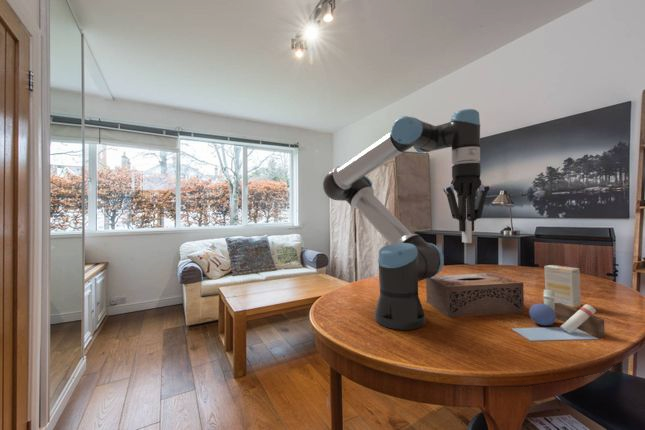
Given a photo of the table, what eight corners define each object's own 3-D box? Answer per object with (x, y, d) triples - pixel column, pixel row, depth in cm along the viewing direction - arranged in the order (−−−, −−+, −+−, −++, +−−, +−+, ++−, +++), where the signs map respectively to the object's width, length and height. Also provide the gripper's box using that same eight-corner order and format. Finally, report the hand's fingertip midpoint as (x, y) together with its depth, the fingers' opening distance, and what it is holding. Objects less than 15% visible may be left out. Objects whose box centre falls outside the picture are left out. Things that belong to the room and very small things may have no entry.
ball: (566, 318, 74) (554, 315, 72) (548, 331, 77) (536, 328, 74) (547, 300, 79) (535, 297, 77) (531, 313, 82) (520, 310, 79)
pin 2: (566, 328, 70) (591, 305, 70) (558, 324, 72) (582, 302, 72) (572, 335, 70) (598, 313, 70) (564, 331, 72) (589, 309, 72)
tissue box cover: (492, 299, 101) (491, 272, 101) (524, 313, 86) (523, 282, 86) (426, 303, 99) (425, 276, 99) (448, 318, 84) (447, 286, 84)
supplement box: (582, 307, 89) (580, 268, 89) (573, 309, 87) (572, 269, 87) (553, 300, 97) (552, 264, 97) (544, 302, 95) (543, 265, 95)
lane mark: (530, 341, 68) (530, 340, 68) (511, 329, 75) (511, 328, 75) (598, 339, 68) (598, 338, 67) (572, 327, 74) (572, 326, 74)
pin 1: (548, 322, 77) (548, 291, 78) (541, 319, 80) (541, 289, 80) (557, 323, 77) (556, 291, 78) (550, 320, 80) (549, 289, 80)
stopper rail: (598, 337, 68) (598, 319, 68) (555, 317, 81) (554, 302, 81) (604, 337, 68) (604, 319, 68) (559, 317, 81) (559, 302, 81)
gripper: (450, 162, 76) (451, 244, 76) (495, 161, 76) (496, 243, 76) (438, 166, 83) (439, 241, 84) (480, 165, 83) (481, 240, 84)
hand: (466, 242), depth 80 cm, fingers closed
